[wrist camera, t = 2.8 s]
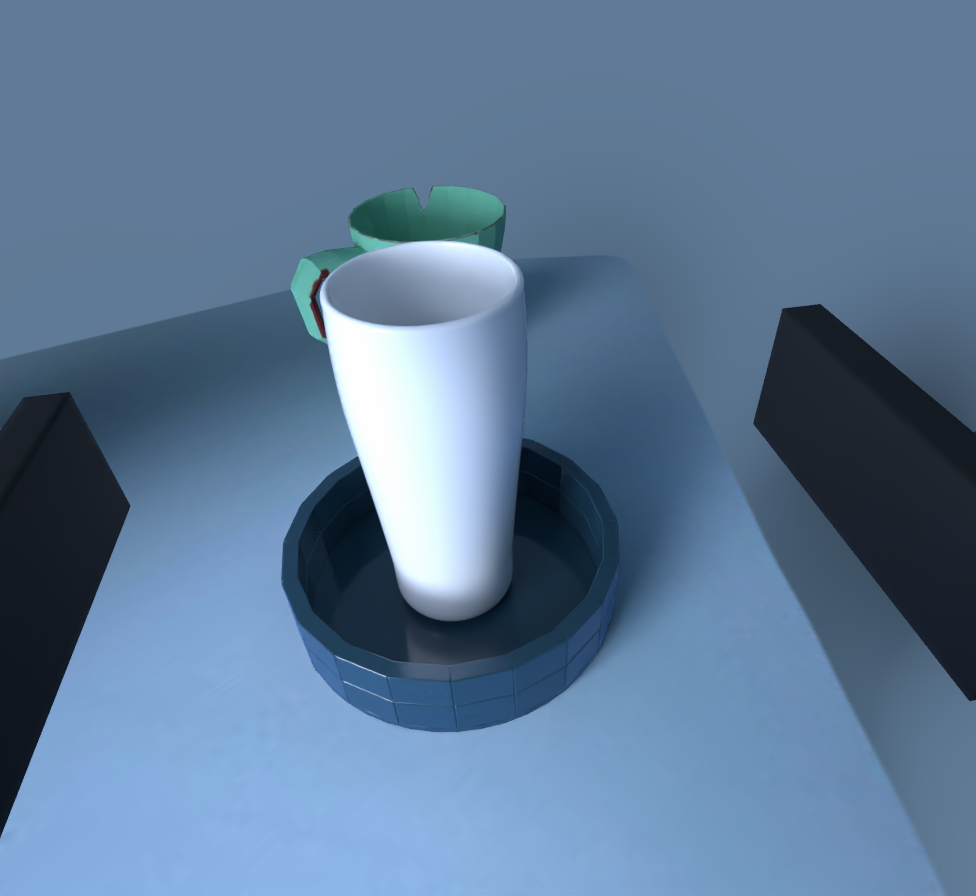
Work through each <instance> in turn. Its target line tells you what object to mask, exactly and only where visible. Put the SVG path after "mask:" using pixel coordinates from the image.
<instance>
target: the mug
mask: <svg viewBox="0 0 976 896" xmlns="http://www.w3.org/2000/svg"><path fill="white" fill-rule="evenodd" d="M505 208H506V206H505V205H504V204H503V203H502V201H501V200H500V199H499V198H498V197H496V196H494V195H492V194H490V193H488V192H485V191H481V190H477V189H473V188H469V187H456V186H433V187H432V189H431V192H430V195H429V204H428V205H427V207H426V208H425V210H424V211H423V209H422V207H421V205H420V202H419V198H418V196H417V194H416V192H415V191H414V189H413V188H407V189H401V190H397V191H393V192H389V193H384V194H381V195H379V196H376V197H373V198H371V199H368V200H366V201H364V202H363V203H362V204H360V205H359V206H357V207H356V208H354V209H353V211H352V213H351V214H350V216H349V217H348V221H349V227H350V231H351V235H352V239H353V242H354V245H355V247H349V248H341V249H333V250H325V251H322V252H319V253H316V254H313V255H311V256H308V257H304V258H302V259H301V261H300V263H299V266H298V268H297V271H296V273H295V276H294V278H293V281H292V283H291V286H290V288H291V291H292V293H293V295H294V298H295V300H296V303H297V305H298V308H299V310H300V312H301V315H302V317H303V320H304V322H305V325H306V327H307V330H308V332H309V334H310V335H311V336H313V337H314V338H316V339H318V340H320V341H322V342H324V343H326V344H327V338H326V332H325V326H324V320H323V317H322V314H321V312H320V309H319V307H318V304H317V301H316V298H315V296H316V294H317V292H318V289H319V287H320V284H321V282H322V281H325V279H326V278H327V277H328V276H329V275H330V274H331V273H332V272H333V271H334V270H335V269H336V268H337V267H339V266H340V265H342V264H343V263H345V262H347V261H348V260H350V259H352V258H354V257H356V256H359V255H361V254H364V253H366V252H369V251H372V250H375V249H379V248H383V247H387V246H391V245H396V244H402V243H409V242H417V241H458V242H466V243H472V244H477V245H481V246H485V247H488V248H491V249H494V250H497V251H499V252H501V247H502V241H503V235H504V229H505V219H506V209H505Z"/></svg>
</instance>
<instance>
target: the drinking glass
mask: <svg viewBox="0 0 976 896" xmlns="http://www.w3.org/2000/svg"><path fill="white" fill-rule="evenodd" d="M320 303H321V307H322V313H323V320H324V326H325V332H326V338H327V344H328V349H329V354H330V359H331V364H332V369H333V373H334V378H335V382H336V386H337V390H338V394H339V397H340V401H341V405H342V408H343V411H344V415H345V418H346V421H347V424H348V427H349V430H350V434H351V437H352V440H353V443H354V446H355V449H356V452H357V455H358V457H359V460H360V463H361V466H362V469H363V472H364V475H365V478H366V481H367V484H368V487H369V490H370V493H371V496H372V499H373V502H374V505H375V508H376V511H377V514H378V517H379V520H380V523H381V526H382V529H383V532H384V535H385V538H386V542H387V545H388V548H389V551H390V554H391V557H392V560H393V565H394V570H395V575H396V580H397V584H398V587H399V590H400V592H401V594H402V596H403V597H404V599H405V600H406V602H407V603H408V604H409V605H410V606H411V607H412V608H413V609H415V610H416V611H417V612H419V613H420V614H422V615H424V616H427V617H429V618H432V619H436V620H440V621H463V620H468V619H472V618H475V617H477V616H480V615H482V614H484V613H486V612H487V611H489V610H490V609H492V608H493V607H494V606H495V605H497V604H498V603H499V602H500V600H501V599H502V598H503V597H504V595H505V594H506V592H507V590H508V588H509V586H510V584H511V580H512V575H513V536H514V523H515V512H516V501H517V490H518V479H519V469H520V458H521V448H522V438H523V428H524V417H525V406H526V391H527V355H528V351H527V318H526V302H525V287H524V276H523V273H522V271H521V269H520V267H519V266H518V265H517V264H516V263H515V262H514V261H513V260H512V259H511V258H510V257H508V256H506V255H505V254H503V253H501V252H499V251H497V250H494V249H491V248H488V247H485V246H481V245H477V244H472V243H466V242H458V241H417V242H409V243H402V244H396V245H391V246H387V247H383V248H379V249H375V250H372V251H369V252H366V253H364V254H361V255H359V256H356V257H354V258H352V259H350V260H348V261H347V262H345V263H343V264H342V265H340V266H339V267H337V268H336V269H335V270H334V271H333V272H332V273H331V274H330V275H329V276H328V277H327V278H326V279H325V281H324V283H323V285H322V287H321V290H320Z"/></svg>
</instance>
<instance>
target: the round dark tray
mask: <svg viewBox="0 0 976 896" xmlns="http://www.w3.org/2000/svg"><path fill="white" fill-rule="evenodd" d="M619 561H620V559H619V540H618V523H617V520H616V518H615V516H614V514H613V512H612V510H611V508H610V506H609V504H608V502H607V500H606V498H605V496H604V494H603V492H602V490H601V488H600V487H599V485H598V484H597V483H596V482H595V481H593V480H592V479H591V478H590V477H589V476H588V475H587V474H586V473H585V472H584V471H583V470H582V469H581V468H580V467H579V466H578V465H577V464H575V463H574V462H573V461H572V460H570V459H569V458H567V457H565V456H563V455H561V454H559V453H557V452H555V451H553V450H551V449H549V448H548V447H546V446H544V445H542V444H540V443H538V442H535V441H533V440H529V439H525V438H522V448H521V458H520V469H519V479H518V490H517V501H516V512H515V523H514V536H513V575H512V580H511V584H510V586H509V588H508V590H507V592H506V594H505V595H504V597H503V598H502V599H501V600H500V602H499V603H498V604H497V605H495V606H494V607H493V608H492V609H490V610H489V611H487V612H486V613H484V614H482V615H480V616H477V617H475V618H472V619H468V620H463V621H440V620H436V619H432V618H429V617H427V616H424V615H422V614H420V613H419V612H417V611H416V610H415V609H413V608H412V607H411V606H410V605H409V604H408V603H407V602H406V600H405V599H404V597H403V596H402V594H401V592H400V590H399V587H398V584H397V580H396V575H395V570H394V565H393V560H392V557H391V554H390V551H389V548H388V545H387V542H386V538H385V535H384V532H383V529H382V526H381V523H380V520H379V517H378V514H377V511H376V508H375V505H374V502H373V499H372V496H371V493H370V490H369V487H368V484H367V481H366V478H365V475H364V472H363V469H362V466H361V463H360V460H359V457H358V456H357V457H356V458H354V459H353V460H351V461H350V462H348V463H346V464H345V465H343V466H342V467H340V468H339V469H337V470H335V471H334V472H332V473H331V474H330V475H328V476H327V477H326V478H325V479H324V480H323V481H322V483H321V484H320V485H319V486H318V487H317V488H316V489H315V490H314V491H313V492H312V493H311V494H310V495H309V496H308V497H307V498H306V500H305V501H304V502H303V503H302V504H301V506H300V507H299V509H298V512H297V514H296V516H295V518H294V520H293V522H292V524H291V526H290V529H289V531H288V533H287V535H286V537H285V539H284V543H283V554H282V574H281V582H282V587H283V590H284V592H285V595H286V598H287V600H288V603H289V606H290V608H291V611H292V614H293V616H294V619H295V622H296V625H297V627H298V630H299V632H300V635H301V637H302V640H303V642H304V645H305V647H306V649H307V652H308V654H309V657H310V659H311V662H312V664H313V666H314V668H315V670H316V671H317V672H318V673H319V674H320V676H321V677H322V678H323V679H324V680H325V681H326V683H327V684H328V685H329V686H330V687H331V688H332V690H334V691H335V692H336V693H337V694H338V695H339V696H341V697H342V698H343V699H344V700H345V701H347V702H348V703H349V704H351V705H353V706H354V707H356V708H358V709H359V710H361V711H363V712H364V713H366V714H368V715H370V716H373V717H375V718H377V719H380V720H382V721H384V722H387V723H390V724H394V725H398V726H402V727H405V728H409V729H416V730H424V731H432V732H460V731H467V730H475V729H483V728H487V727H490V726H494V725H498V724H502V723H506V722H508V721H511V720H513V719H516V718H518V717H521V716H524V715H526V714H528V713H530V712H532V711H534V710H536V709H537V708H539V707H541V706H543V705H545V704H546V703H548V702H550V701H551V700H552V699H554V698H555V697H556V696H558V695H559V694H560V693H562V692H563V691H564V690H566V689H567V688H568V687H569V686H570V685H571V684H572V683H573V682H574V681H575V680H576V679H577V678H578V677H579V676H580V675H581V674H582V673H583V672H584V670H585V669H586V668H587V666H588V665H589V664H590V662H591V661H592V660H593V658H594V657H595V655H596V653H597V651H598V650H599V648H600V646H601V644H602V642H603V639H604V637H605V634H606V631H607V628H608V625H609V621H610V618H611V616H612V613H613V609H614V601H615V593H616V585H617V577H618V569H619Z"/></svg>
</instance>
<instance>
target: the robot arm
mask: <svg viewBox="0 0 976 896" xmlns="http://www.w3.org/2000/svg"><path fill="white" fill-rule="evenodd" d="M754 425H755V426H756V428H757V429H758V430H759V432H760V433H761V434H762V435H763V437H764V438H765V439H766V441H767V442H768V443H769V444H770V446H771V447H772V448H773V450H774V451H775V452H776V453H777V455H778V456H779V457H780V459H781V460H782V461H783V462H784V464H785V465H786V466H787V468H788V469H789V470H790V471H791V473H792V474H793V475H794V477H795V478H796V479H797V480H798V482H799V483H800V484H801V486H802V487H803V488H804V489H805V491H806V492H807V493H808V494H809V496H810V497H811V498H812V500H813V501H814V502H815V503H816V505H817V506H818V507H819V508H820V510H821V511H822V512H823V514H824V515H825V516H826V518H827V519H828V520H829V521H830V523H831V524H832V525H833V527H834V528H835V529H836V530H837V532H838V533H839V534H840V536H841V537H842V538H843V539H844V541H845V542H846V543H847V545H848V546H849V547H850V548H851V550H852V551H853V552H854V553H855V555H856V556H857V557H858V559H859V560H860V561H861V562H862V564H863V565H864V566H865V567H866V569H867V570H868V572H869V573H870V574H871V575H872V577H873V578H874V579H875V580H876V582H877V583H878V584H879V586H880V587H881V588H882V590H883V591H884V592H885V593H886V595H887V596H888V597H889V599H890V600H891V601H892V602H893V603H894V605H895V606H896V607H897V609H898V610H899V611H900V613H901V614H902V615H903V616H904V618H905V619H906V620H907V622H908V623H909V624H910V625H911V627H912V628H913V629H914V631H915V632H916V633H917V634H918V635H919V637H920V638H921V640H922V641H923V642H924V643H925V645H926V646H927V647H928V649H929V650H930V651H931V652H932V654H933V655H934V656H935V658H936V659H937V660H938V661H939V663H940V664H941V665H942V667H943V668H944V669H945V670H946V671H947V673H948V674H949V675H950V677H951V678H952V679H953V681H954V682H955V683H956V684H957V686H958V687H959V688H960V690H961V691H962V692H963V693H964V695H965V696H966V697H967V698H968V700H969V701H972V700H976V432H972V431H971V430H970V429H969V428H968V427H966V426H965V425H964V424H963V423H962V422H960V421H959V420H958V419H957V418H956V417H954V416H953V415H952V414H951V413H950V412H949V411H947V410H946V409H945V408H944V407H942V406H941V405H940V404H939V403H938V402H936V401H935V400H934V399H933V398H932V397H931V396H929V395H928V394H927V393H926V392H925V391H923V390H922V389H921V388H920V387H919V386H917V385H916V384H915V383H914V382H913V381H911V380H910V379H909V378H908V377H907V376H906V375H904V374H903V373H902V372H901V371H899V370H898V369H897V368H896V367H895V366H893V365H892V364H891V363H890V362H889V361H888V360H886V359H885V358H884V357H883V356H881V355H880V354H879V353H878V352H877V351H876V350H874V349H873V348H872V347H871V346H870V345H868V344H867V343H866V342H865V341H864V340H862V339H861V338H860V337H859V336H858V335H857V334H855V333H854V332H853V331H852V330H850V329H849V328H848V327H847V326H846V325H844V324H843V323H842V322H841V321H840V320H839V319H837V318H836V317H835V316H834V315H833V314H831V313H830V312H829V311H828V310H826V309H825V308H824V307H823V306H822V305H821V304H818V305H810V306H802V307H792V308H784V309H782V313H781V317H780V321H779V325H778V329H777V333H776V337H775V340H774V345H773V348H772V352H771V356H770V360H769V364H768V368H767V372H766V376H765V380H764V384H763V388H762V391H761V395H760V399H759V403H758V408H757V411H756V415H755V419H754ZM129 508H130V504H129V502H128V501H127V499H126V497H125V495H124V493H123V491H122V489H121V487H120V486H119V484H118V482H117V480H116V478H115V476H114V474H113V472H112V471H111V469H110V467H109V465H108V463H107V461H106V459H105V457H104V456H103V454H102V452H101V450H100V448H99V446H98V444H97V442H96V441H95V439H94V437H93V435H92V433H91V431H90V429H89V428H88V426H87V424H86V422H85V420H84V418H83V416H82V414H81V413H80V411H79V409H78V407H77V405H76V403H75V401H74V399H73V398H72V396H71V394H70V392H67V393H58V394H49V395H41V396H32V397H24V398H23V399H22V401H21V402H20V403H19V405H18V406H17V408H16V409H15V411H14V412H13V413H12V415H11V416H10V418H9V419H8V420H7V422H6V423H5V425H4V426H3V428H2V429H1V430H0V837H1V834H2V832H3V829H4V827H5V824H6V822H7V819H8V817H9V814H10V812H11V809H12V806H13V804H14V801H15V799H16V796H17V794H18V791H19V789H20V786H21V783H22V781H23V778H24V776H25V773H26V771H27V768H28V766H29V763H30V761H31V758H32V755H33V753H34V750H35V748H36V745H37V743H38V740H39V738H40V735H41V733H42V730H43V727H44V725H45V722H46V720H47V717H48V715H49V712H50V710H51V707H52V705H53V702H54V699H55V697H56V694H57V692H58V689H59V687H60V684H61V682H62V679H63V676H64V674H65V671H66V669H67V666H68V664H69V661H70V659H71V656H72V654H73V651H74V648H75V646H76V643H77V641H78V638H79V636H80V633H81V631H82V628H83V626H84V623H85V620H86V618H87V615H88V613H89V610H90V608H91V605H92V603H93V600H94V598H95V595H96V592H97V590H98V587H99V585H100V582H101V580H102V577H103V575H104V572H105V570H106V567H107V564H108V562H109V559H110V557H111V554H112V552H113V549H114V547H115V544H116V541H117V539H118V536H119V534H120V531H121V529H122V526H123V524H124V521H125V519H126V516H127V513H128V511H129Z"/></svg>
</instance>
